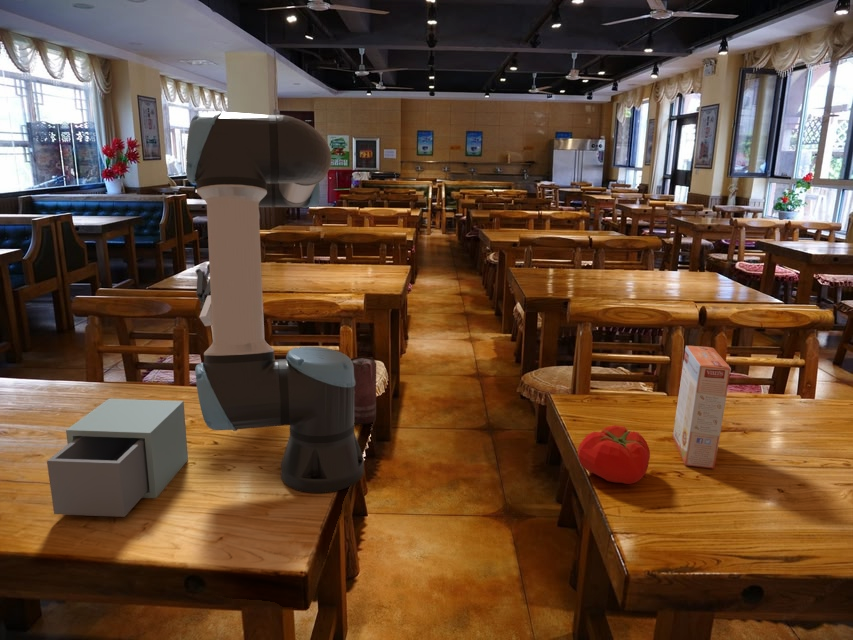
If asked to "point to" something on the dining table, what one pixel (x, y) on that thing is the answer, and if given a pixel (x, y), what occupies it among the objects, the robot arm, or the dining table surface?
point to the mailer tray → (98, 476)
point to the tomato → (615, 454)
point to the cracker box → (701, 406)
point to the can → (364, 390)
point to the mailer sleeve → (142, 433)
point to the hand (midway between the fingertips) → (205, 321)
